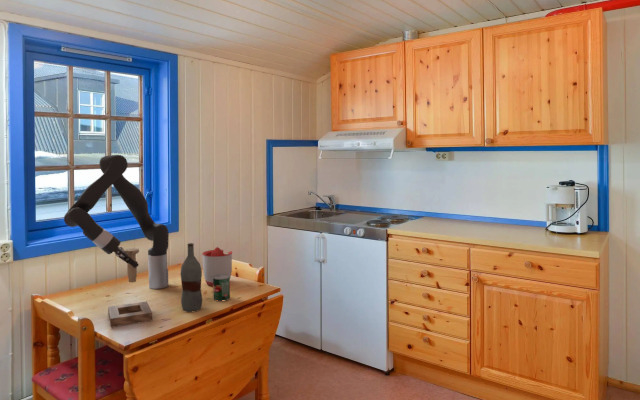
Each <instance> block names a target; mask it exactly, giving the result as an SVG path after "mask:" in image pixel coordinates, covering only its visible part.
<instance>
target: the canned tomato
mask: <svg viewBox="0 0 640 400" xmlns="http://www.w3.org/2000/svg"><path fill="white" fill-rule="evenodd" d="M230 282H231V277H230V276H229V275H223V274H222V275H215V276H213V286H212V288H213V289H212V291H213V299H212V300H213V301H215V300H218V301H217V302H223V301H222V300H227V299H229V298H230V299H231V291H230V289H231V288H230V285H231V284H230ZM230 299H229V300H230ZM227 301H228V300H227Z"/></svg>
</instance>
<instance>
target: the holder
mask: <svg viewBox="0 0 640 400" xmlns="http://www.w3.org/2000/svg"><path fill="white" fill-rule="evenodd" d="M107 310H108V311H107V312H108V313H107V315H108V320H109V325H110V327H111V328H114V327H113V326H115V327H119V326H118V325H121V326H126V325H125V324H128V325H133V323H134V324H139V322H140V323H146V322H145V321H147V322H152V321H151V320H153V311H152V309H151V307H150V305H149V303H148V301H140V302H132V303H124V304H118V305H111V306H110V305H109V306H107Z"/></svg>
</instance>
